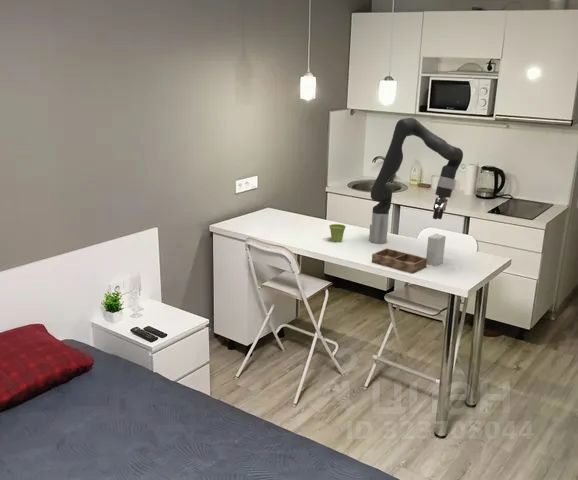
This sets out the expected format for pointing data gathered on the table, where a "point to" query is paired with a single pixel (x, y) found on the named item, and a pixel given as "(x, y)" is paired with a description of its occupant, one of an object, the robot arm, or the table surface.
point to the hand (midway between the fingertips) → (436, 218)
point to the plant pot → (337, 232)
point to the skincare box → (435, 249)
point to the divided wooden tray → (399, 260)
